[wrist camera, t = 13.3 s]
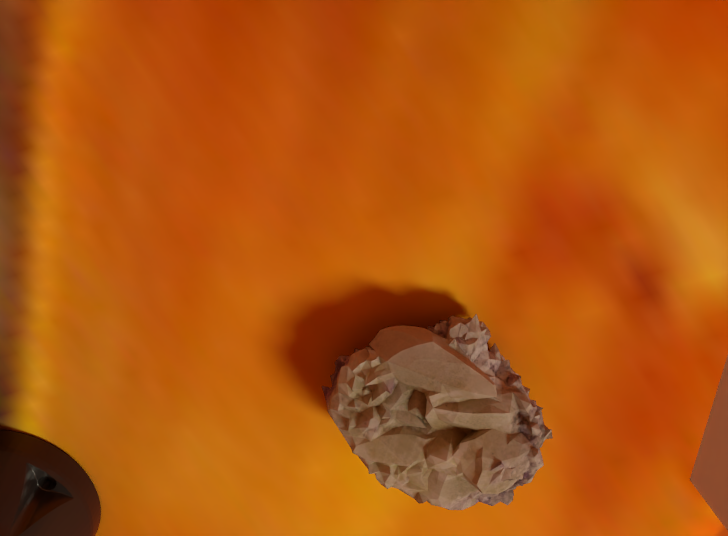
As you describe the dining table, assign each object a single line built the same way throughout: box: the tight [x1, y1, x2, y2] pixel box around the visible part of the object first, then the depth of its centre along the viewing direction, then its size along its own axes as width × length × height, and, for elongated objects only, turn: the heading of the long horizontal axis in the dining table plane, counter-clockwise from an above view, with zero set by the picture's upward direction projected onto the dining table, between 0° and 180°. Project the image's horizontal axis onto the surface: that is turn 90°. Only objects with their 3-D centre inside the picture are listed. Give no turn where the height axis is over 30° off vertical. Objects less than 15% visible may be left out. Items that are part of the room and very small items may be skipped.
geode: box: [322, 314, 552, 510], centre depth 49 cm, size 17×9×15 cm
